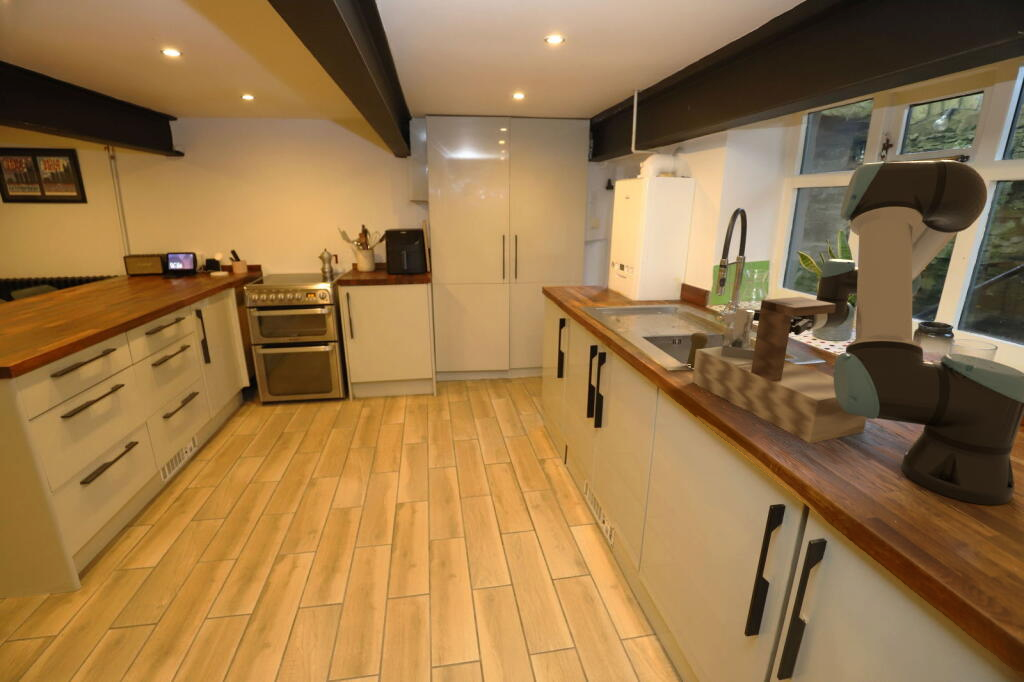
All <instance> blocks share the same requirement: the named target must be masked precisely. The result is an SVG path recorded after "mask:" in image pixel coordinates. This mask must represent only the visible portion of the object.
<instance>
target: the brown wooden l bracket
mask: <svg viewBox="0 0 1024 682" xmlns="http://www.w3.org/2000/svg"><path fill="white" fill-rule="evenodd" d="M760 303H761V304H760V308H759V310H760V315H759V321H757V322H758V323H757V329H756V330H757V331H756V336H755V344H754V348H753V349H754V356H753V363H752V370H751V373H753V374H756V375H758V376H761V377H763V378H765V379H768V380H770V381H773V382H774V381H780V380H781V379H782V373H783V367H784V361H785V360H786V354H787V350H788V342H789V335H790V334H789V331H790V325H791V319H792V317H796V316H806V315H816V314H826V313H834V312H835V307H836V304H834V303H829V302H824V301H819V300H816V299H813V298H809V297H808V298H807V297H804V296H796V297H784V298H783V297H782V298H771V299H762V300H761V301H760Z"/></svg>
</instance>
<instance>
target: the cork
mask: <svg viewBox="0 0 1024 682" xmlns="http://www.w3.org/2000/svg"><path fill="white" fill-rule="evenodd" d="M690 342H691V346H690V350H689V353H688V357H687V362H686V365H687V364H691V365H688V366H691V368H694V363H695V354H696V349H705V348H707V344H708V342H709V336H708V334H707V333H705V332H704V333H703V332H694V333H692V334H691V335H690Z"/></svg>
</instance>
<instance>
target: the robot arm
mask: <svg viewBox="0 0 1024 682" xmlns="http://www.w3.org/2000/svg"><path fill="white" fill-rule="evenodd" d="M987 200H988V189H987V186H986V183H985V179H983V176H981V174H980V173H979V172H978V171H977V170H976V169H975V168H973V167H972V166H970V165H968V164H967V163H964V162H960V161H956V160H950V159H949V160H948V159H945V160H944V159H941V160H923V161H922V160H921V161H920V160H919V161H900V162H899V161H897V162H892V161H891V162H885V161H880V162H871V163H863V164H861V165H859V166H858V167H856V169H855V170H854V172H853V174H852V176H851V177H850V180H849V182H848V185H847V188H846V191H845V193H844V198H843V201H842V205H841V208H840V209H841V210H840V218H841V219H840V220H843V221H845V222H848V221H850V227H849V228H850V230H851V232H852V233H854V234H855V235H857V236H858V251H857V252H858V253H857V255H858V256H857V266H856V261H854V260H851V259H841V258H829V259H827V260H825V261H824V262H823V264H822V267H821V272H820V275H819V277H820V278H819V284H818V288H817V289H818V290H817V295H816V298H815V300H819V301H824V302H829V303H834V304H836V307H835V312H834V313H826V314H816V315H806V316H796V317H792V319H791V325H790V331H789V335H790V334H792V333H793V335H795V336H799V335H801V334H802V333H804V332H806V331H807V332H811V331H812V330H819V329H829V328H831V329H834V328H838V327H842V326H846V325H848V324H849V323H850V322H851V321H853V319H854V315H856V317H855V339H854V340H853V341H852V342H851V343H848V345H846V346H845V352H842V353H840V354H838V355H837V357H836V358H835V361H834V365H833V368H834V369H833V376H832V377H833V380H834V390H835V395H836V398H837V401H838V403H839V405H840V407H841V408H842V409H843V410H844V411H845V412H847V413H849V414H853V415H858V416H864V417H867V418H866V419H870V420H874V419H878V420H879V419H880V420H886V421H894V422H900V423H905V424H906V423H908V424H914V425H921V426H924V427H923V430H922V433H921V434H920V436H919V437H918V438H917V439H916V440H915V442H914V443H913V444H912V445H911V446H910V448H909V450H908V451H907V452H906V453H905V454H904V455H903V459H902V462H901V470H902V472H903V473H904V474H905V475H906V476H907V477H908V478H909V479H910V480H912V481H914V482H915V483H917V484H918V485H920V486H922V487H925V488H926V489H928V490H930V491H933V492H935V493H937V494H941V496H942V495H943V496H945V497H949V498H951V499H952V498H953V499H955V500H958V501H962V502H966V503H973V504H979V505H988V506H996V505H997V506H999V505H1000V506H1001V505H1004V504H1007V503H1010V501H1011V500H1012V498H1013V495H1014V492H1015V490H1016V489H1015V488H1016V487H1015V481H1014V480H1015V479H1014V474H1013V467H1012V460H1011V453H1012V450H1013V447H1014V445H1015V441H1016V438H1017V436H1018V432H1019V429H1020V426H1021V423H1022V421H1023V418H1024V372H1022V371H1021V370H1019V369H1017V368H1014V367H1011V366H1009V365H1006V364H1004V363H1000V362H997V361H993V360H990V359H986V358H982V357H977V356H973V355H967V354H963V353H962V354H961V353H945V354H944V355H943V356H942V357H941V358H940V362H937V361H927V360H925V359H924V348H923V347H922V346H921V345H919V344H918V343H916V342H915V341H914V340H913V297H914V296H915V295H917V294H918V291H919V289H920V288H921V284H922V275H921V273H922V272H923V271H924V269H925V268H926V267H927V266H929V264H930V263H931V262H932V261H933V260H934V259H935V258H936V256H938V254H939V253H940V252H941V251H942V250H944V249H943V248H945V247H946V245H948V243H949V242H950V241H951V240H952V239H953V238H954V237H955V235H956V234H957V233H960V232H963V231H966V230H967V229H968V228H970V227H971V226H973V224H974V223H975V222H976V221H977V220H978V218H980V217H981V215H982V213H983V212H984V210H985V207H986V204H987ZM851 295H853V296H855V295H856V310H855V311H854V308H853V305H852V304H851V303H849V297H850V296H851ZM753 310H754V318H753V322H759V315H760V309H753ZM855 312H856V314H855ZM735 314H736V311H734V312H724V319H723V323H724V324H729V323H734V322H735Z"/></svg>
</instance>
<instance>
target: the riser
mask: <svg viewBox="0 0 1024 682" xmlns="http://www.w3.org/2000/svg"><path fill="white" fill-rule="evenodd" d="M749 348H750V349H754V348H753V347H750V346H749ZM698 350H699V349H696V354H695V363H694V369H693V373H692V374H693V375H692V382H693V384H694V383H695V384H694V385H696V384H697V385H696V386H698V387H700V388H703V389H704V390H706V391H708V392H709V393H712V394H713V395H716V396H717V395H718V397H719V396H720V397H719V398H721V397H722V398H721V399H723V398H724V399H723V400H725V399H726V400H725V401H727V400H728V402H729V401H730V402H729V403H730V404H733V405H735V406H737V407H739V408H741V407H742V408H741V409H743V410H744V409H745V411H746V410H747V411H746V412H748V411H749V413H750V412H751V414H752V413H753V415H754V414H755V416H756V415H757V417H758V418H760V419H762V420H764V421H766V422H768V423H770V424H772V425H773V424H774V426H775V425H776V427H777V426H778V427H777V428H779V427H780V429H781V428H782V429H781V430H783V429H784V430H783V431H785V430H786V432H787V431H788V432H787V433H789V432H790V433H789V434H791V433H792V435H793V434H794V435H793V436H795V435H796V436H795V437H797V436H798V437H797V438H799V439H800V438H801V439H800V440H802V439H803V440H802V441H805V442H807V443H808V444H814V443H818V442H823V441H827V440H832V439H833V440H834V439H836V438H837V439H838V438H841V437H847V436H851V435H857V434H862V433H863V432H864V431H865V427H866V421H867V419H868V418H867V417H864V416H858V415H853V414H849V413H847V412H845V411H844V410H843V409H842V408H841V407H840V405H839V403H838V401H837V398H836V395H835V390H834V380H833V376H831V375H828V374H826V373H823V372H820V371H817V370H814V369H812V368H809V367H806V366H804V365H801V364H797V363H795V362H792V361H791V360H786V359H785V361H784V367H783V373H782V379H781V380H780V381H774V382H773V381H770V380H768V379H765V378H763V377H761V376H758V375H756V374H753V373H751V370H752V364H748V365H740V366H734V365H732V364H729V363H727V362H725V361H722V360H720V359H717V358H715V357H713V356H710V355H708V354H705V353H703V352H701V351H698Z"/></svg>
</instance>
